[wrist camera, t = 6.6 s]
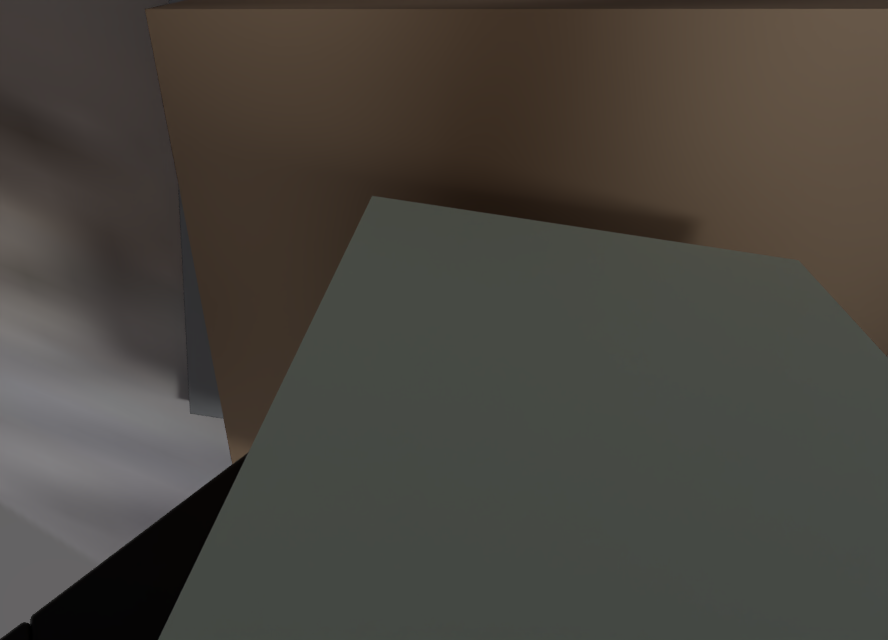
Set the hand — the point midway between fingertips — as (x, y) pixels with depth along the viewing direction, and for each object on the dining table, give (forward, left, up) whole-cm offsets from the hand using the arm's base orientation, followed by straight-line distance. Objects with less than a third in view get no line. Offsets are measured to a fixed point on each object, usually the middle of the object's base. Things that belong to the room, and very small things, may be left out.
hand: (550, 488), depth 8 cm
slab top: (0, 0, -5) cm, 5 cm away
